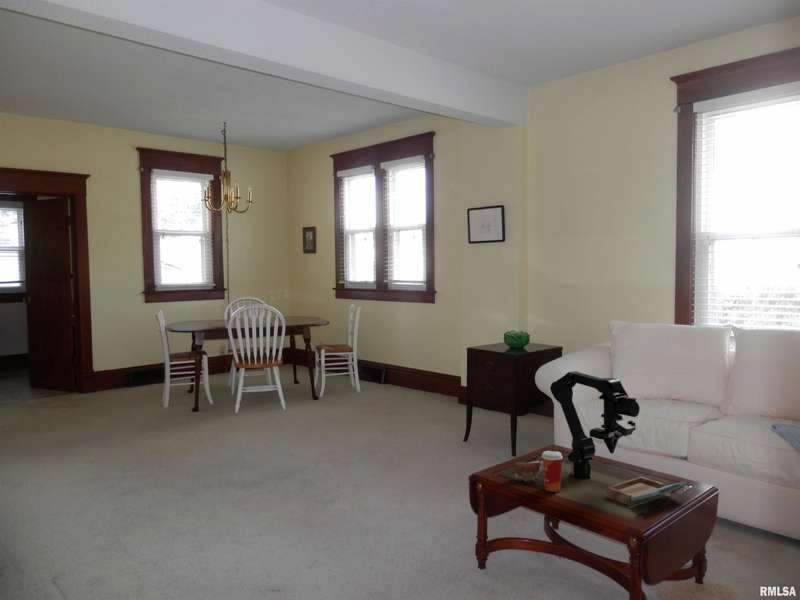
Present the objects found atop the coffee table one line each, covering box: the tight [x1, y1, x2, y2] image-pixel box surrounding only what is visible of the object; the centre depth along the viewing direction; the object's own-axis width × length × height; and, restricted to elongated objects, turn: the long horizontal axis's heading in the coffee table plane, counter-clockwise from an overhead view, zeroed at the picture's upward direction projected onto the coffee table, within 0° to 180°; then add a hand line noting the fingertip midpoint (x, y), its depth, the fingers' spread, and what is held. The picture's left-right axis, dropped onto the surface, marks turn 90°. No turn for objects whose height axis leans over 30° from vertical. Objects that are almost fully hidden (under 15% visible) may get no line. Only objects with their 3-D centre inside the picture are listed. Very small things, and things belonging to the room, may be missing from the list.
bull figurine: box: [512, 460, 543, 480], centre depth 240 cm, size 4×13×8 cm, turn 78°
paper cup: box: [541, 450, 563, 491], centre depth 229 cm, size 8×8×14 cm
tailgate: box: [631, 480, 688, 501], centre depth 214 cm, size 1×20×9 cm
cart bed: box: [605, 475, 665, 506], centre depth 223 cm, size 10×20×4 cm, turn 123°
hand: (611, 453), depth 231 cm, fingers closed
